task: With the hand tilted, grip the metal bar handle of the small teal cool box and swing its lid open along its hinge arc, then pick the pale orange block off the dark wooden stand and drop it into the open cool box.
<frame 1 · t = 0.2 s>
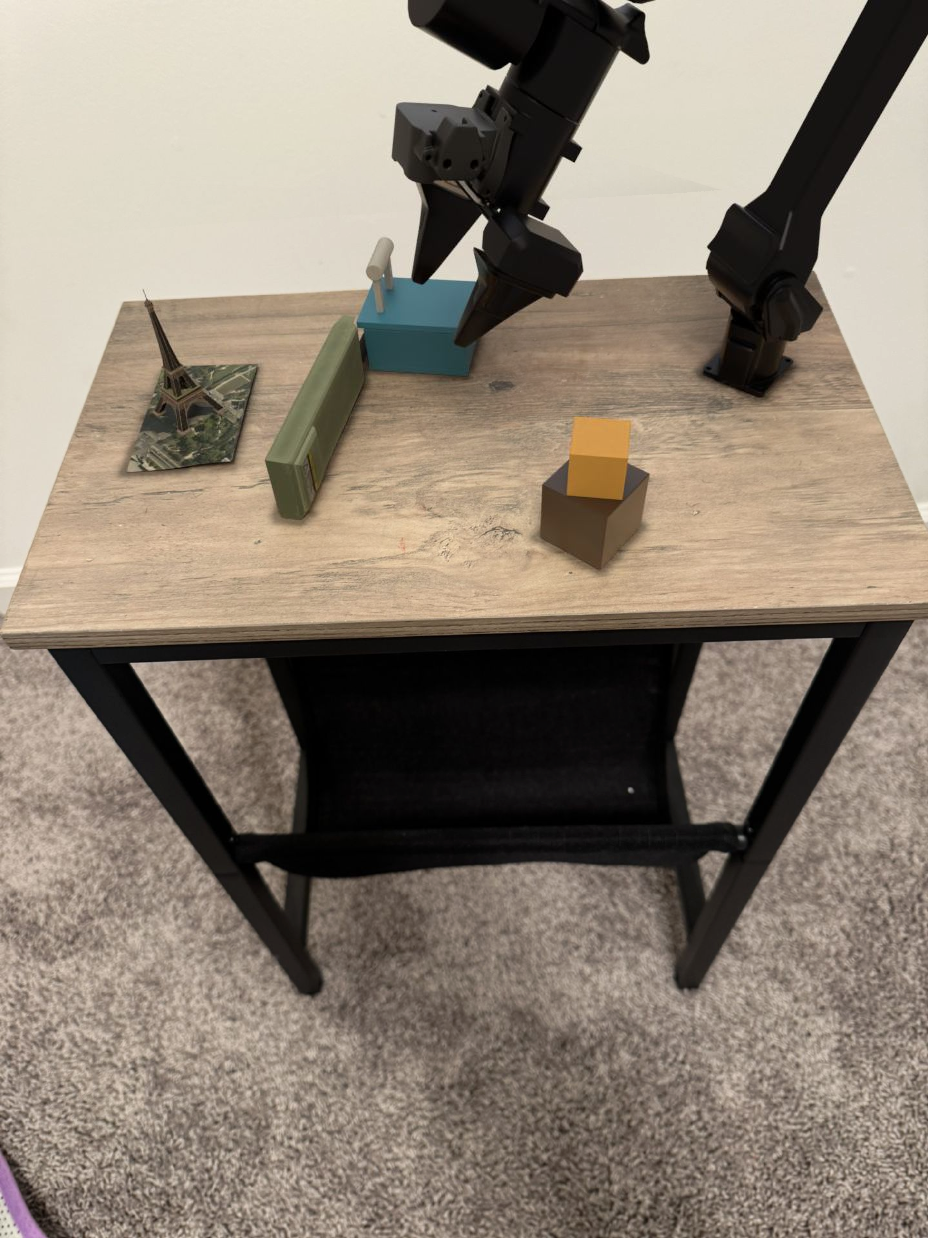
hand: (436, 312, 63), 15 cm above the table, tool tilted 35°, fingers open, 9 cm apart
stand: (590, 532, 69), on the table
block: (596, 478, 64), point 6 cm above the table, touching stand
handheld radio: (335, 426, 79), on the table
eiffel tower figurine: (196, 418, 80), on the table
fridge lid: (416, 280, 79), point 8 cm above the table, hinge at 0.0°
mini fridge: (425, 349, 85), on the table
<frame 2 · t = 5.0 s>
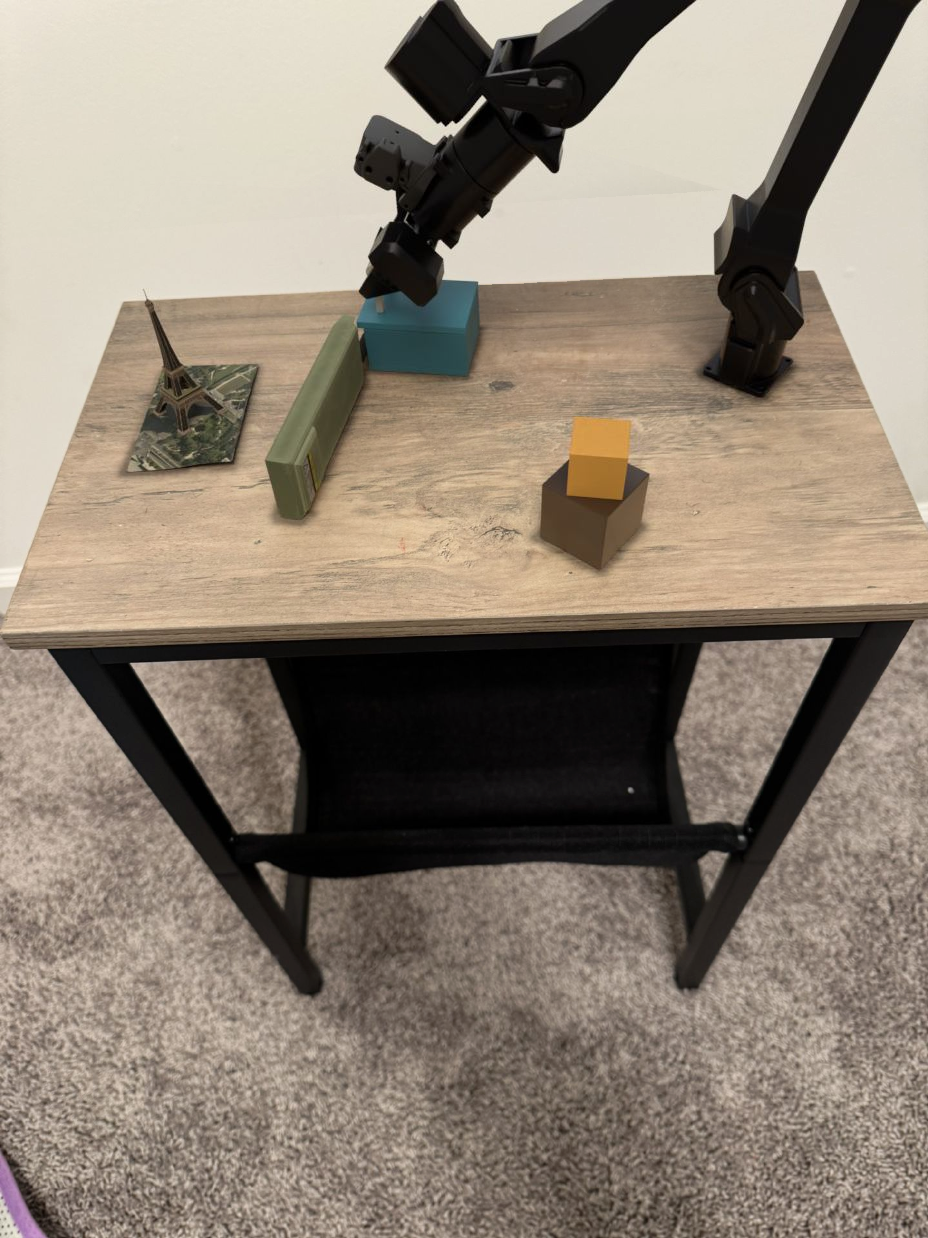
hand: (369, 279, 80), 7 cm above the table, tool tilted 45°, fingers closed on fridge lid, 5 cm apart
fridge lid: (416, 280, 79), point 8 cm above the table, hinge at 0.0°, touching gripper
everything else where it was.
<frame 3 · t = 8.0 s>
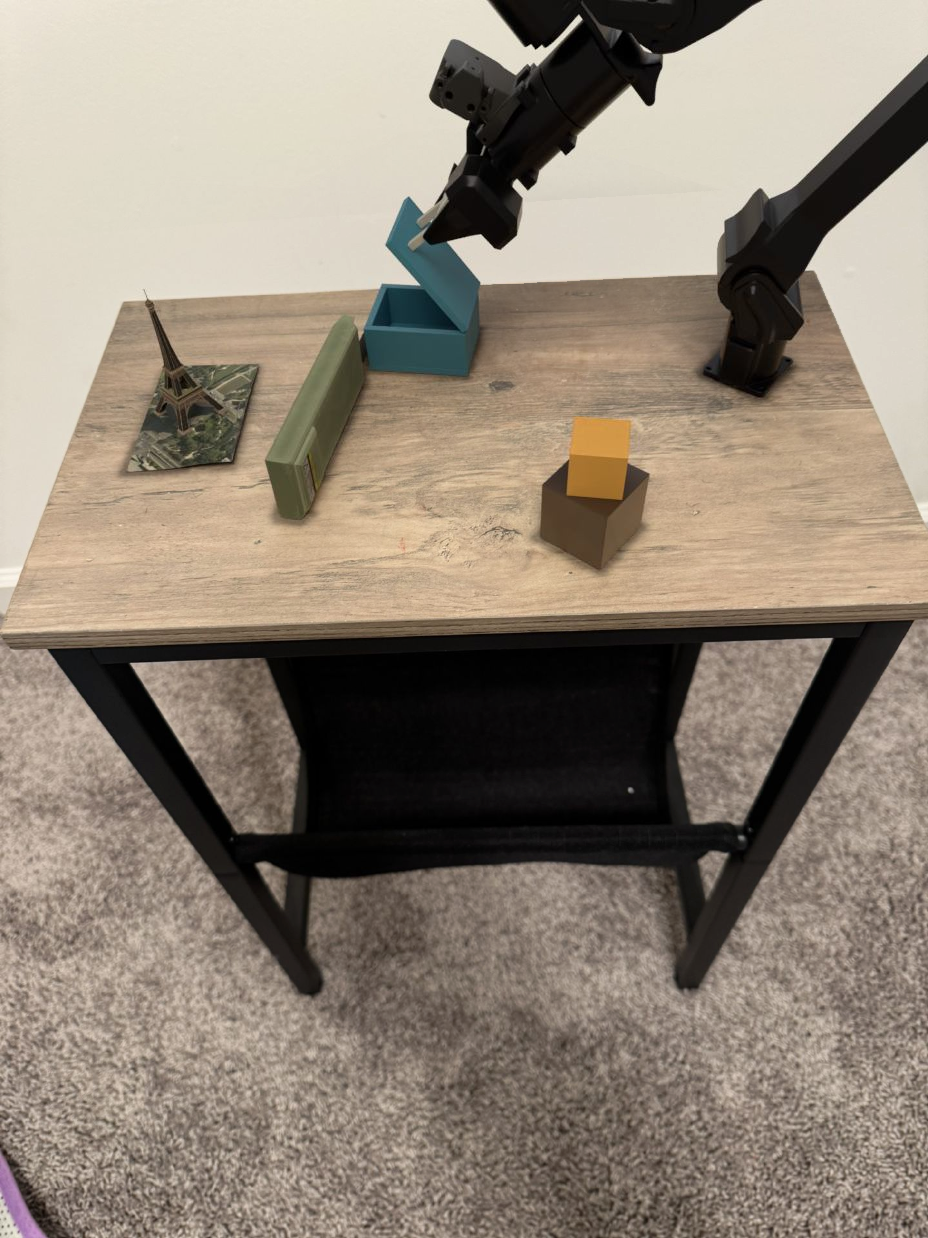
hand: (432, 224, 74), 13 cm above the table, tool tilted 45°, fingers closed on fridge lid, 5 cm apart
fridge lid: (455, 250, 76), point 11 cm above the table, hinge at 52.1°, touching gripper
everything else where it was.
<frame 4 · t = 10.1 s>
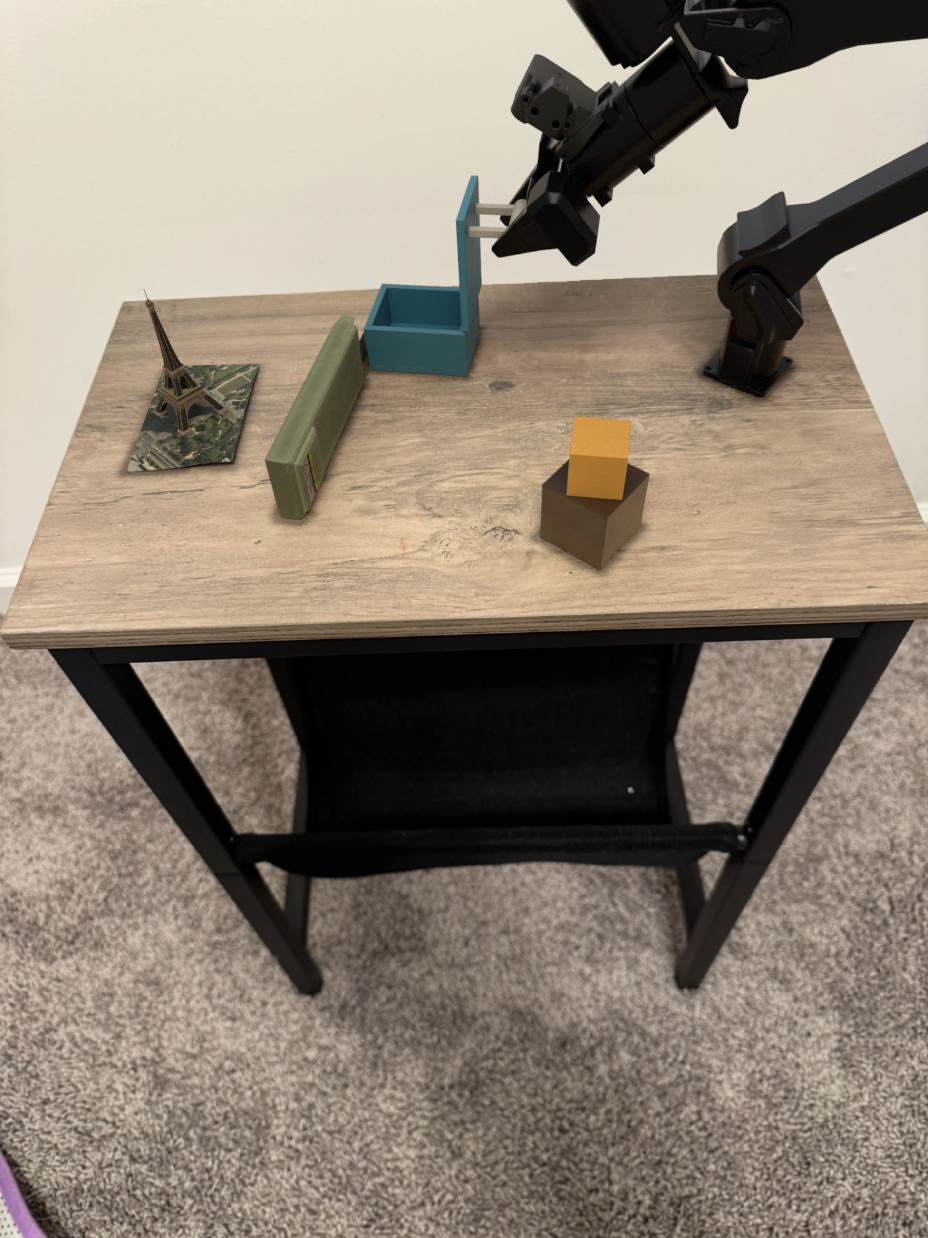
hand: (498, 236, 74), 12 cm above the table, tool tilted 50°, fingers closed on fridge lid, 5 cm apart
fridge lid: (496, 256, 76), point 10 cm above the table, hinge at 90.0°, touching gripper
everything else where it was.
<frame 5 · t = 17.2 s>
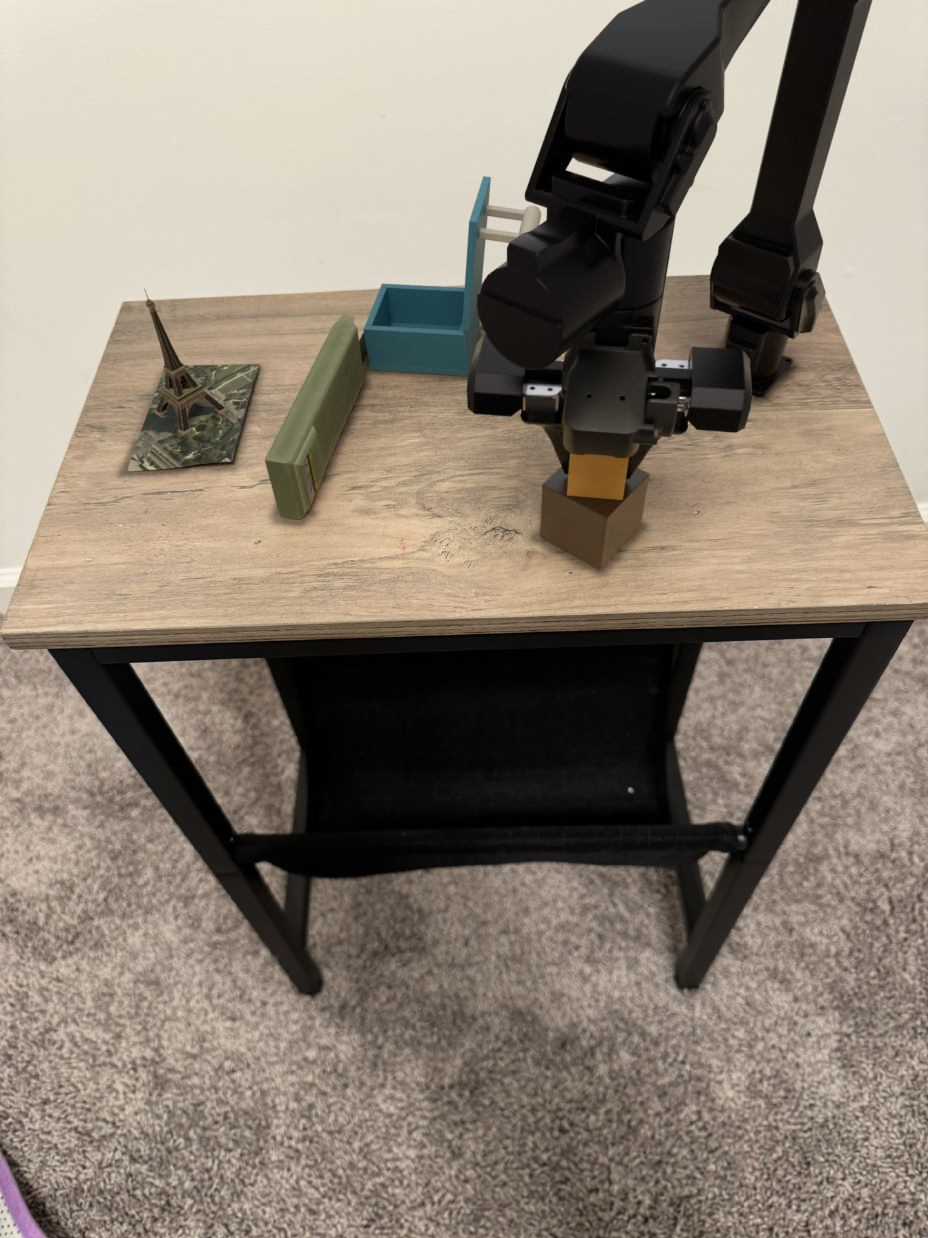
hand: (596, 472, 63), 7 cm above the table, tool pointing down, fingers closed on block, 4 cm apart
block: (596, 478, 64), point 6 cm above the table, touching gripper, stand
fridge lid: (502, 259, 76), point 10 cm above the table, hinge at 96.2°
everything else where it was.
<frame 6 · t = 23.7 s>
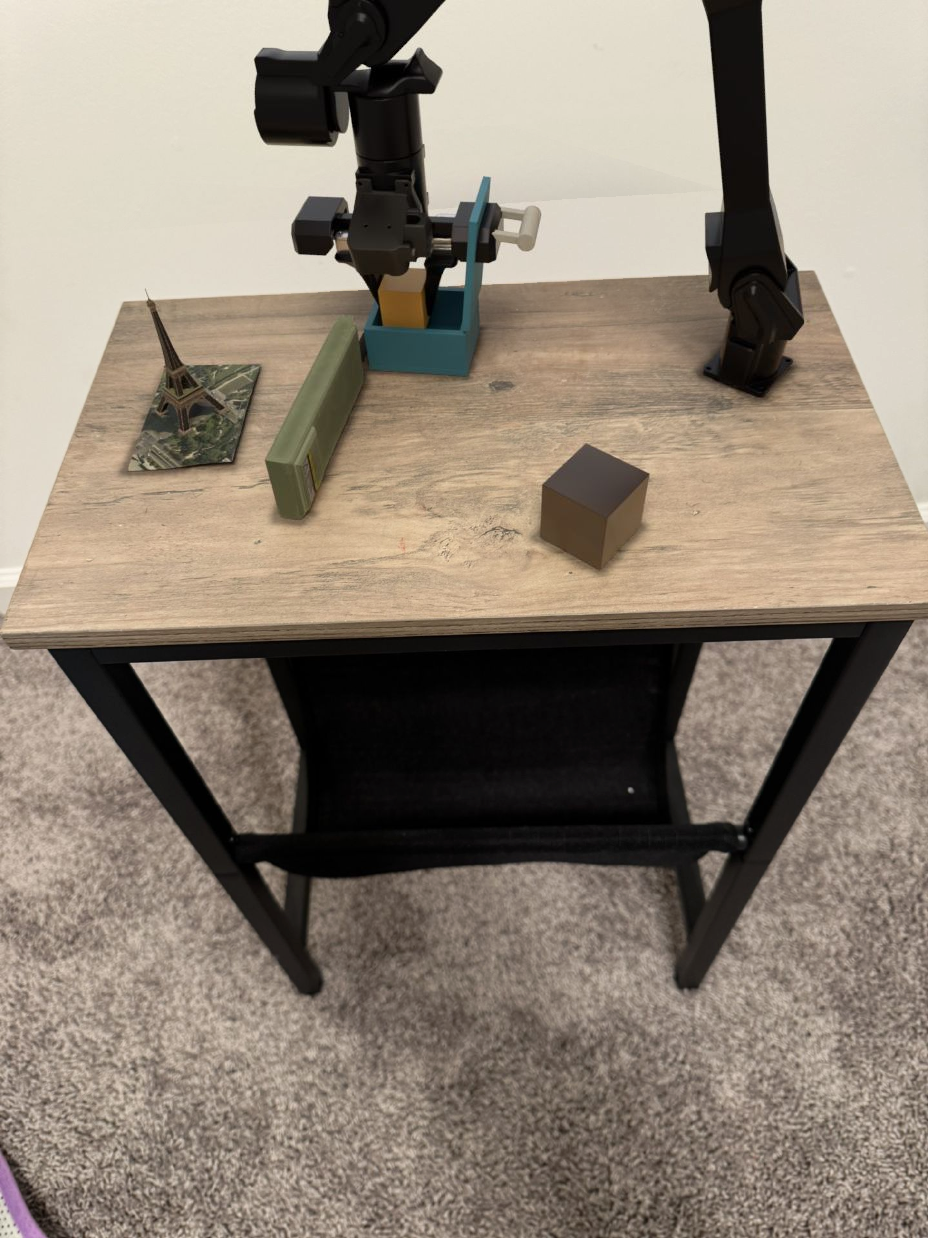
hand: (407, 312, 82), 4 cm above the table, tool pointing down, fingers closed on block, 4 cm apart
block: (408, 318, 82), point 4 cm above the table, touching gripper
everything else where it was.
when the fingers open (6 cm above the table, at t = 33.5 s): block drops 5 cm, resting on mini fridge.
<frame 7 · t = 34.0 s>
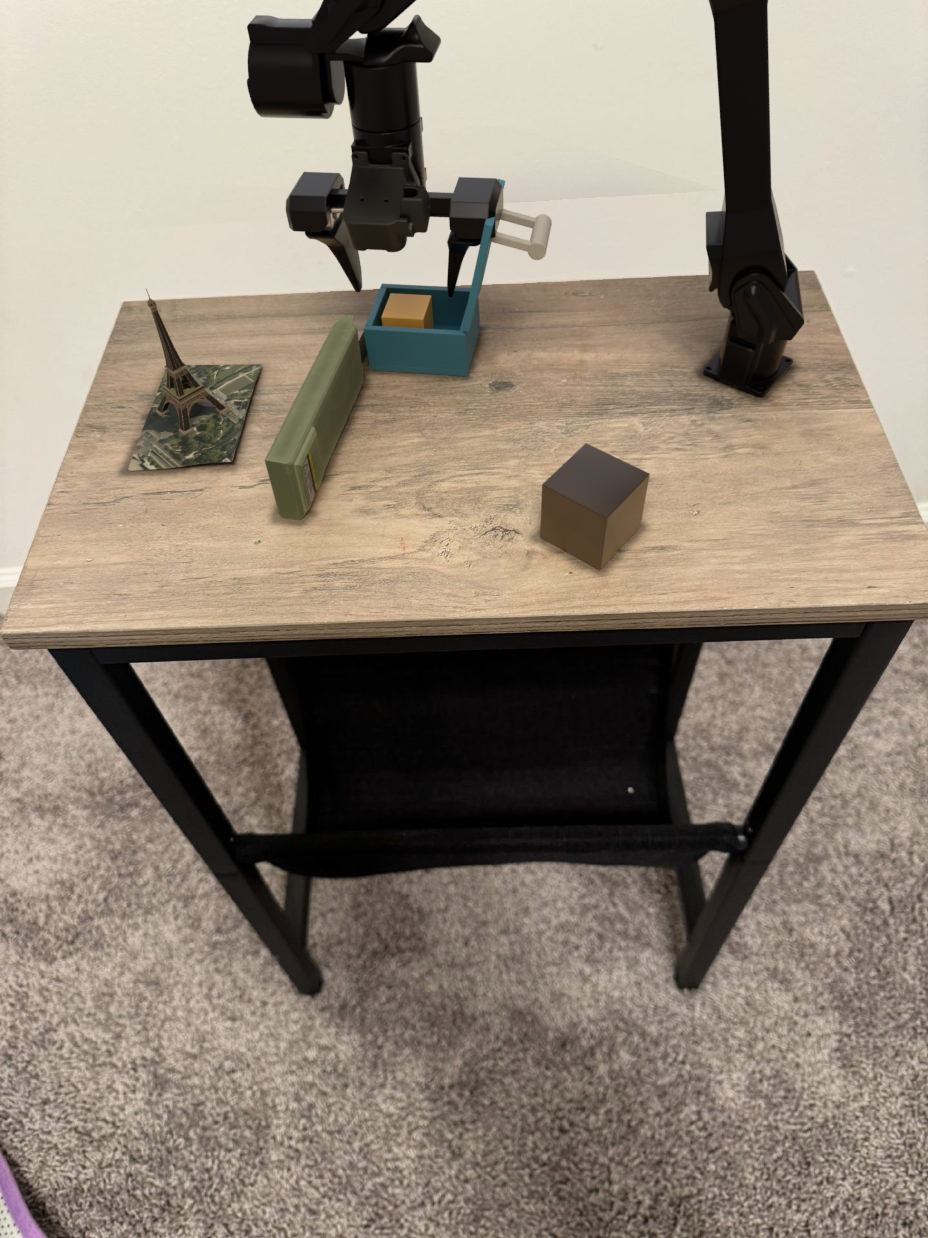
hand: (404, 292, 80), 6 cm above the table, tool pointing down, fingers open, 9 cm apart
block: (410, 342, 85), point 1 cm above the table, touching mini fridge
fridge lid: (509, 264, 76), point 10 cm above the table, hinge at 103.4°, touching gripper
everything else where it was.
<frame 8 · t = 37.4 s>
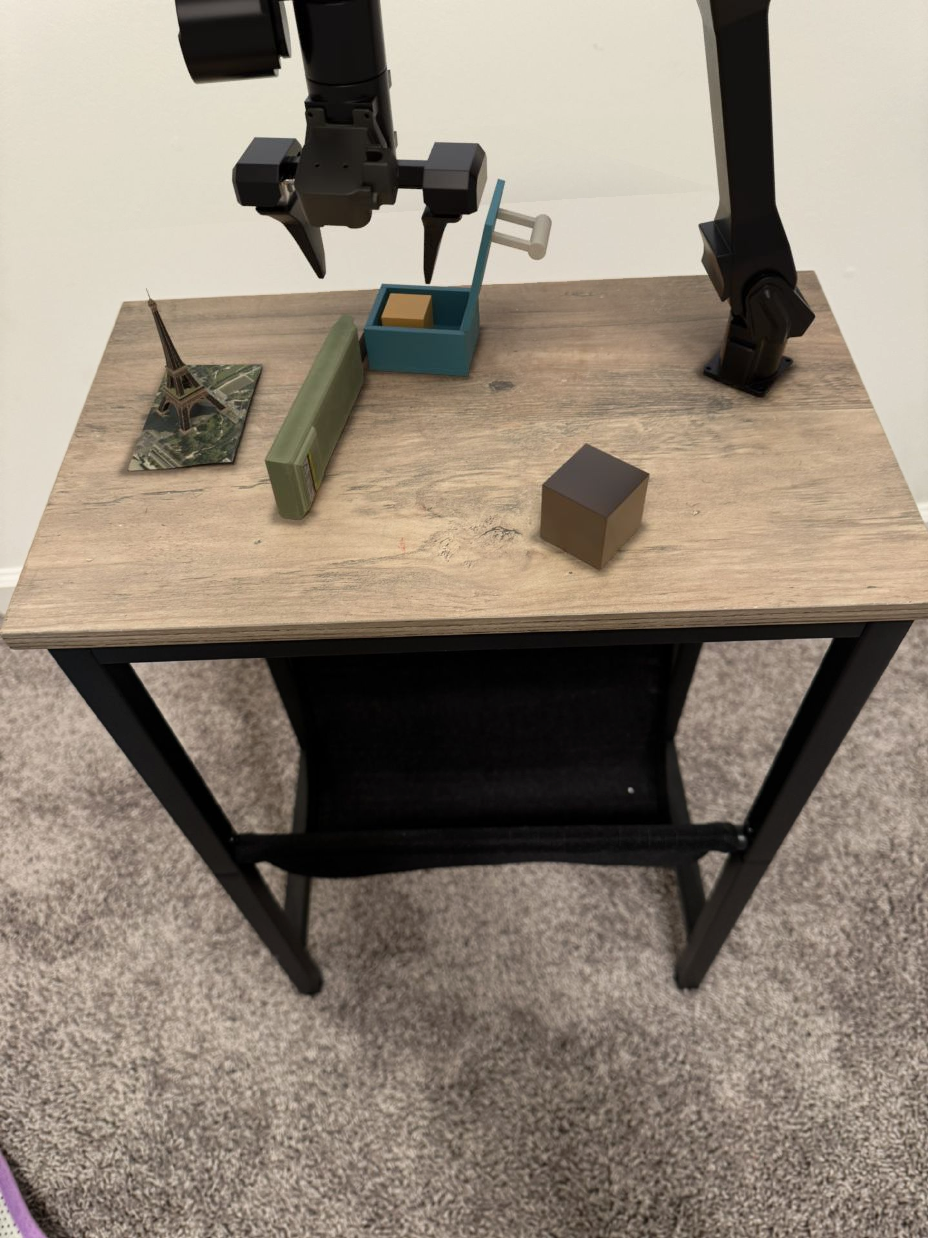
hand: (375, 278, 70), 13 cm above the table, tool pointing down, fingers open, 9 cm apart
fridge lid: (509, 264, 76), point 10 cm above the table, hinge at 103.4°
everything else where it was.
at the end: fridge lid at +103° (first picture: +0°); block inside the target area in the mini fridge (1.5 cm from its centre), point 0.7 cm above the mini fridge's base; the gripper is holding nothing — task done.
